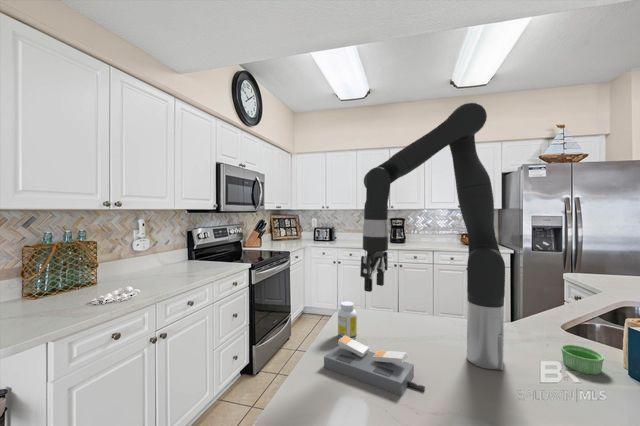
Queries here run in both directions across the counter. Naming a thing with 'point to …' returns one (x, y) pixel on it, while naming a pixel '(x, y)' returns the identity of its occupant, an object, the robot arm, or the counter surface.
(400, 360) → the block
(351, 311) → the pill bottle
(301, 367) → the counter surface
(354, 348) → the rocker outer
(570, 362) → the ramekin
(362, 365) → the power strip
